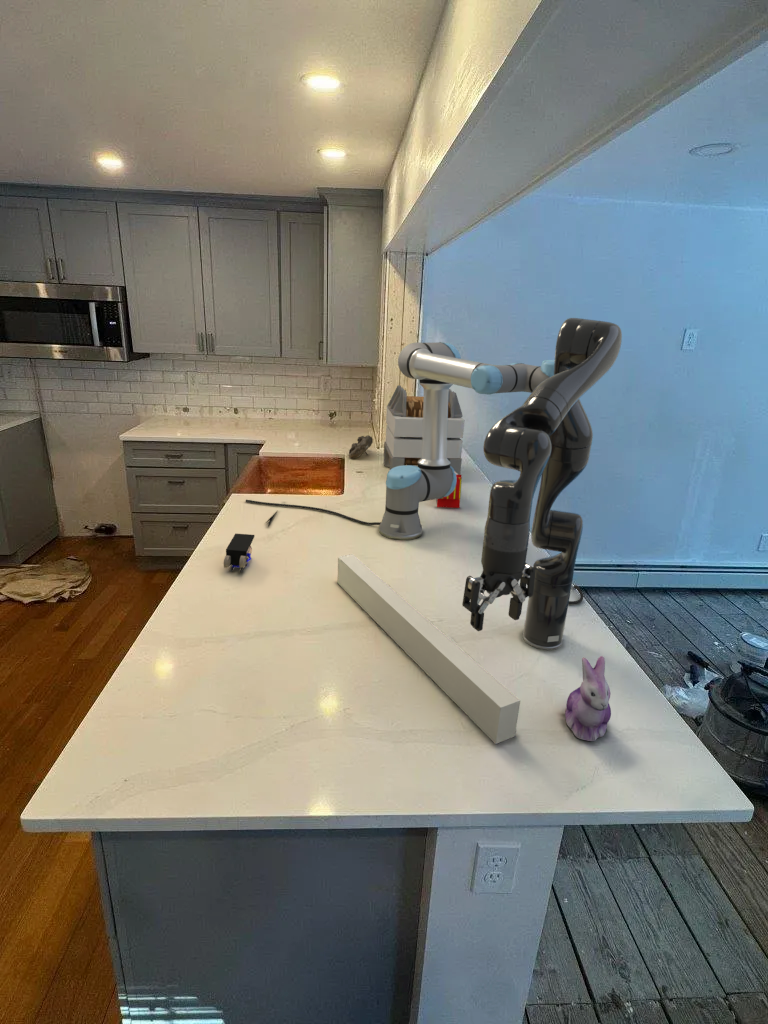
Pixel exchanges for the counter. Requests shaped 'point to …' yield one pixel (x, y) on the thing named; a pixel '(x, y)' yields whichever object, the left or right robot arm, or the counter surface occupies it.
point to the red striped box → (452, 496)
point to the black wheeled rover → (238, 551)
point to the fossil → (360, 446)
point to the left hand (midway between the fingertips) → (537, 490)
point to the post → (433, 651)
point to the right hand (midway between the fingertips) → (495, 623)
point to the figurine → (590, 703)
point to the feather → (271, 519)
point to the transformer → (418, 430)
